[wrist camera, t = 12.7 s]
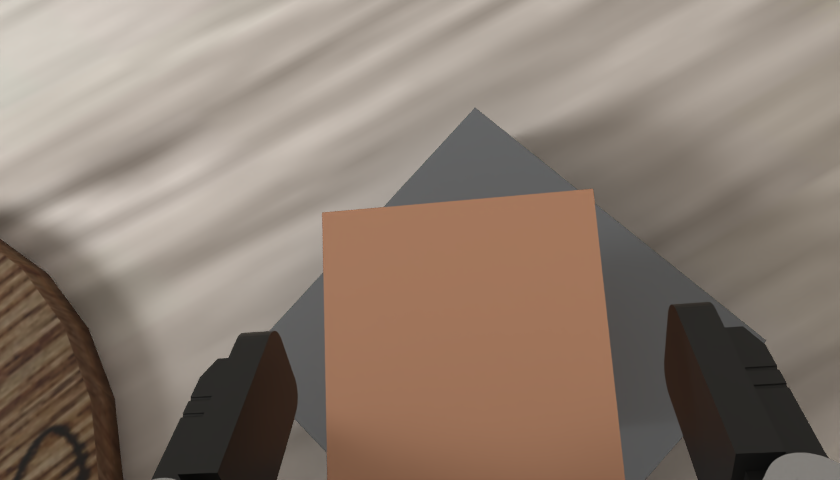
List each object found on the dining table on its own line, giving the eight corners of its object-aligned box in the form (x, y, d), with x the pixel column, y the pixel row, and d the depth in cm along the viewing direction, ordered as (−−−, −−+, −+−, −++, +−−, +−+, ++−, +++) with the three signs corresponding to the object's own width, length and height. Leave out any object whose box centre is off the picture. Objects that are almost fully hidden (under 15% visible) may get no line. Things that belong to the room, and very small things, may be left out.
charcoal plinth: (282, 363, 26) (240, 362, 22) (481, 146, 27) (474, 107, 23) (507, 595, 23) (505, 640, 19) (726, 345, 24) (766, 340, 20)
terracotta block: (416, 437, 21) (327, 492, 11) (409, 283, 22) (322, 212, 12) (575, 431, 20) (625, 484, 11) (559, 272, 21) (593, 188, 12)
